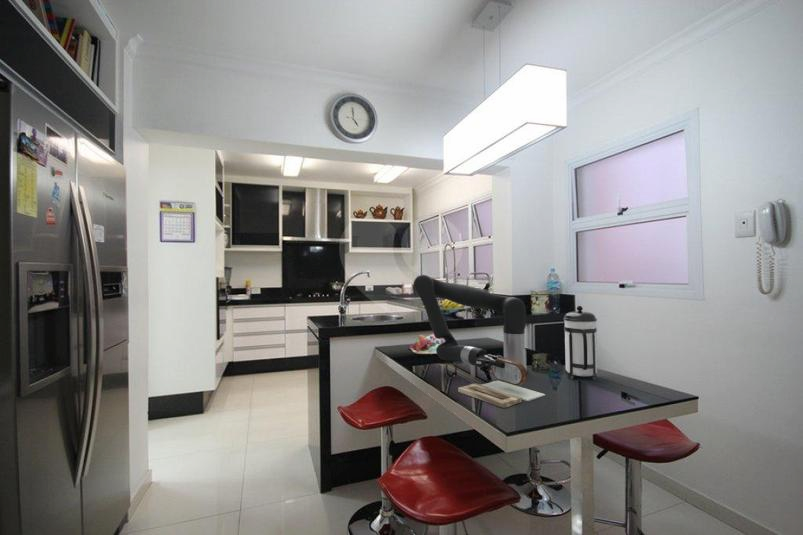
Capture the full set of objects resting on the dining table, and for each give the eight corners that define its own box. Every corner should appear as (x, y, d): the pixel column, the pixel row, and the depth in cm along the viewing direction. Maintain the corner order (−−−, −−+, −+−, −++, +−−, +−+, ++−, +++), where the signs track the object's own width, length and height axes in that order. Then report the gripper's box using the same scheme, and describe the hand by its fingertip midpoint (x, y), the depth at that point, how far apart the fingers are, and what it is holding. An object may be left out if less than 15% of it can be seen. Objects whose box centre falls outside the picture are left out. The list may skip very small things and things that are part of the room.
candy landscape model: (404, 347, 228) (404, 332, 228) (439, 344, 235) (439, 330, 235) (418, 355, 204) (418, 339, 204) (457, 352, 211) (457, 336, 211)
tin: (527, 387, 136) (528, 364, 136) (521, 388, 134) (522, 364, 134) (495, 377, 148) (496, 356, 149) (490, 378, 147) (491, 356, 147)
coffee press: (552, 374, 162) (551, 305, 162) (579, 370, 168) (577, 303, 169) (586, 385, 146) (584, 308, 146) (614, 380, 152) (612, 306, 153)
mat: (497, 381, 152) (497, 380, 152) (545, 395, 134) (545, 394, 134) (480, 386, 147) (480, 384, 147) (527, 401, 129) (527, 399, 129)
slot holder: (476, 387, 146) (475, 383, 146) (521, 402, 128) (521, 397, 128) (458, 391, 140) (458, 387, 140) (503, 408, 123) (503, 403, 123)
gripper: (461, 349, 152) (494, 357, 138) (485, 345, 160) (518, 352, 146) (461, 367, 152) (494, 377, 138) (485, 362, 160) (518, 371, 146)
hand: (506, 364), depth 142 cm, fingers closed on tin, 2 cm apart
